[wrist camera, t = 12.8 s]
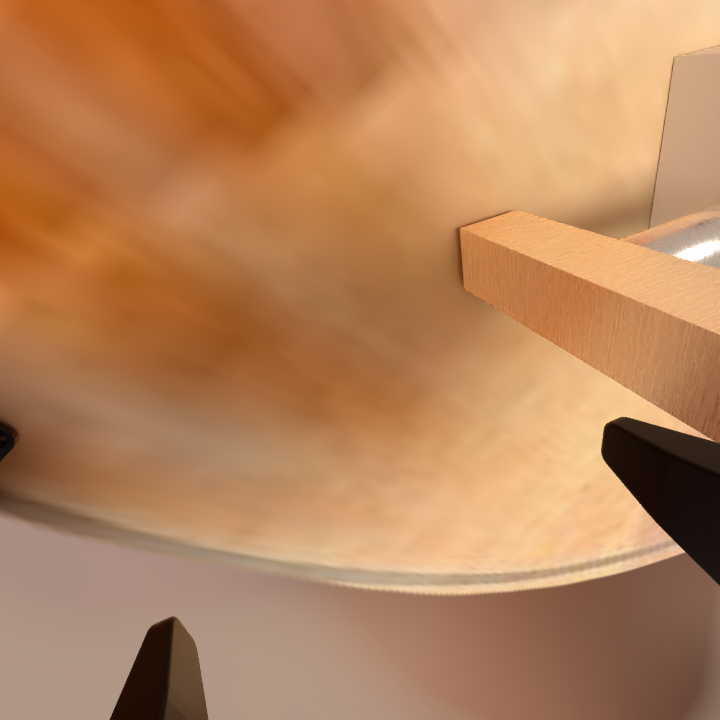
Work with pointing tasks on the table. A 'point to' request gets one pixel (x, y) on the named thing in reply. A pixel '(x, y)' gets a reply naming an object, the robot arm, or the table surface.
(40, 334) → the table surface
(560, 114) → the table surface
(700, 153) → the block
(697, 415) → the grey piece
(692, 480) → the robot arm
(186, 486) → the table surface
